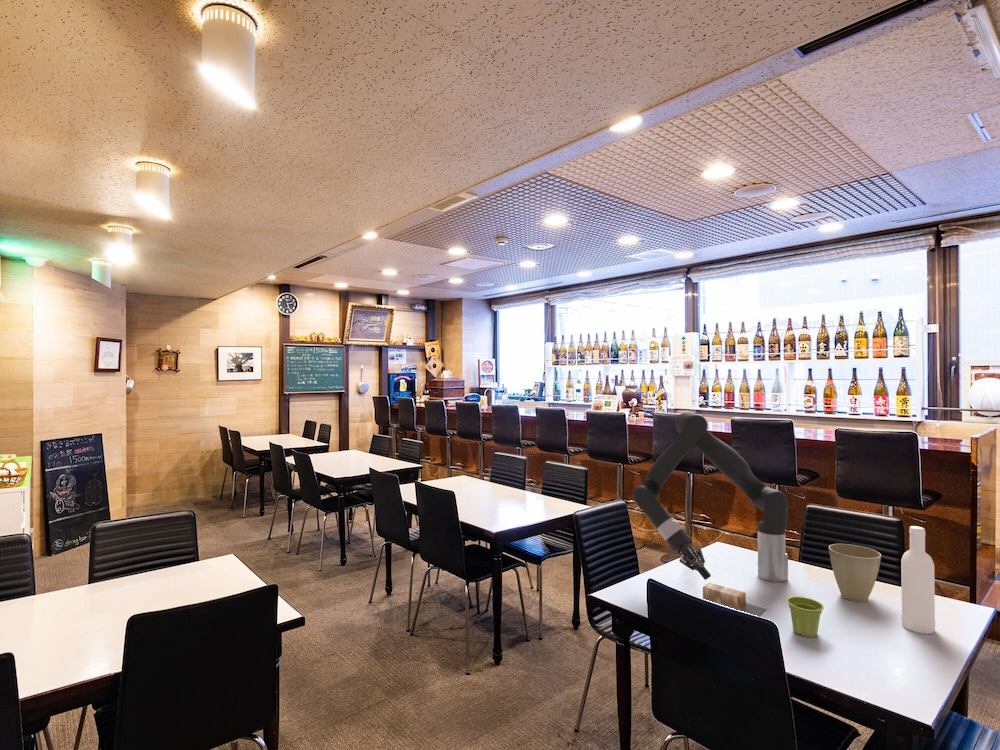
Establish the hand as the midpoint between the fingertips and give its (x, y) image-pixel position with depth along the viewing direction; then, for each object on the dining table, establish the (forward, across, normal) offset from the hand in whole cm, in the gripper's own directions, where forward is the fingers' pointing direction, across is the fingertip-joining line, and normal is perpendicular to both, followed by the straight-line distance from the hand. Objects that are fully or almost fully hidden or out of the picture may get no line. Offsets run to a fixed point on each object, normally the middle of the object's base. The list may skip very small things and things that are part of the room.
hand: (708, 578), depth 177 cm
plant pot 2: (+30, +38, -19) cm, 51 cm away
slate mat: (+11, 0, 0) cm, 11 cm away
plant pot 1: (+27, -1, -15) cm, 31 cm away
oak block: (+3, 0, +4) cm, 5 cm away
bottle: (+43, +25, -32) cm, 59 cm away
